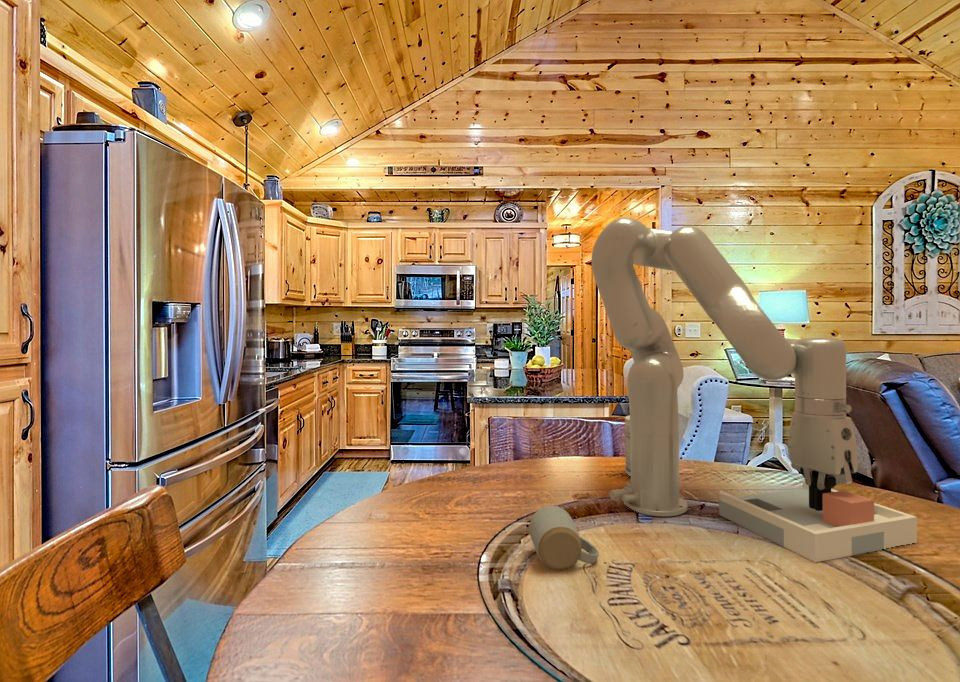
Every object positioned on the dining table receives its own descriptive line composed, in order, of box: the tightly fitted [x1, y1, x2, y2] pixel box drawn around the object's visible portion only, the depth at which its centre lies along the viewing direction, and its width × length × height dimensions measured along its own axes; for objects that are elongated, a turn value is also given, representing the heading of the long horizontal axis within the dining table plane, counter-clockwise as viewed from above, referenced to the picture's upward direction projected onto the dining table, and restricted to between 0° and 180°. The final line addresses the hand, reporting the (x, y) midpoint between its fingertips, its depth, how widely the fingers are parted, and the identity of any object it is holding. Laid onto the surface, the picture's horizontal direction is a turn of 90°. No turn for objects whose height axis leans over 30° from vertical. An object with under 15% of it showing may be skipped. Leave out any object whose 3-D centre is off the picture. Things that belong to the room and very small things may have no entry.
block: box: [823, 489, 875, 527], centre depth 83 cm, size 5×5×5 cm
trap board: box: [718, 480, 918, 563], centre depth 90 cm, size 22×20×4 cm
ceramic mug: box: [528, 505, 600, 570], centre depth 79 cm, size 11×8×8 cm
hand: (819, 508), depth 88 cm, fingers closed
